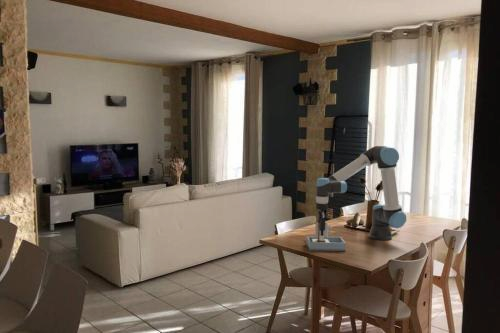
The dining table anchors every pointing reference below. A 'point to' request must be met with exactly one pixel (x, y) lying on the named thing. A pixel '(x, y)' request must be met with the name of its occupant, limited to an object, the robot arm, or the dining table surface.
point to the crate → (326, 244)
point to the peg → (319, 233)
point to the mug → (324, 230)
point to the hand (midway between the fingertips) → (321, 239)
